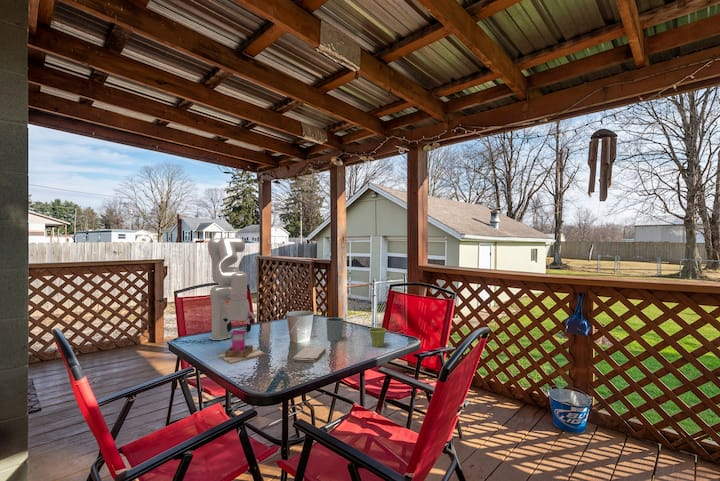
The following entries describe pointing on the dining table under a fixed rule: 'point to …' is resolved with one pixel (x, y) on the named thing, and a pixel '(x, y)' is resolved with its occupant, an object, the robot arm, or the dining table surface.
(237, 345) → the supplement box
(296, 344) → the dining table surface
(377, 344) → the plant pot
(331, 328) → the grey green embossed cup
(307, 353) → the washcloth
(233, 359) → the collar holder
